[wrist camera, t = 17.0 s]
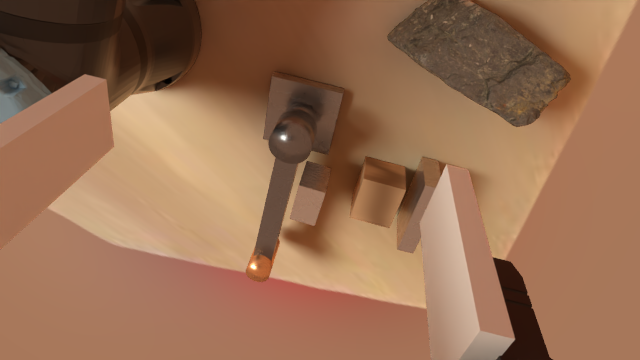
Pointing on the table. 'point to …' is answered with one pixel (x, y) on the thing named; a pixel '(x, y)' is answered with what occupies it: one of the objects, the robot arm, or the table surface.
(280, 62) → the table surface
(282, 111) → the grey piece
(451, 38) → the rock
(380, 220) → the tan cardboard box
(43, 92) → the robot arm
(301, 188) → the lever
